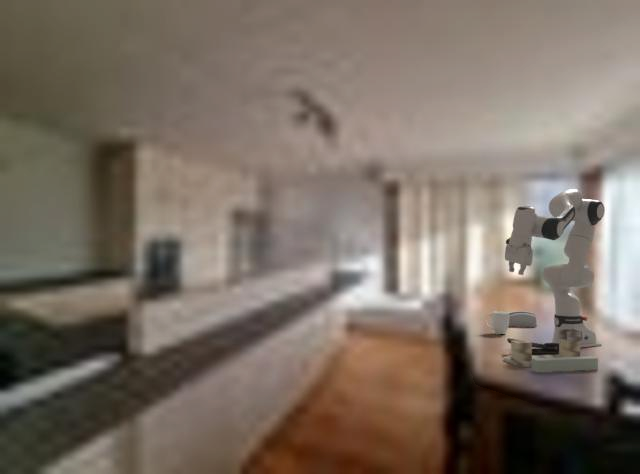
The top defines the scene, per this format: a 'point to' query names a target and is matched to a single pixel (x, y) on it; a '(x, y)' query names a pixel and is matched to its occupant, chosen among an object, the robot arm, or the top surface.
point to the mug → (499, 321)
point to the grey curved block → (522, 319)
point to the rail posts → (523, 355)
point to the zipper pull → (547, 348)
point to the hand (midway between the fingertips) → (515, 273)
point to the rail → (564, 364)
